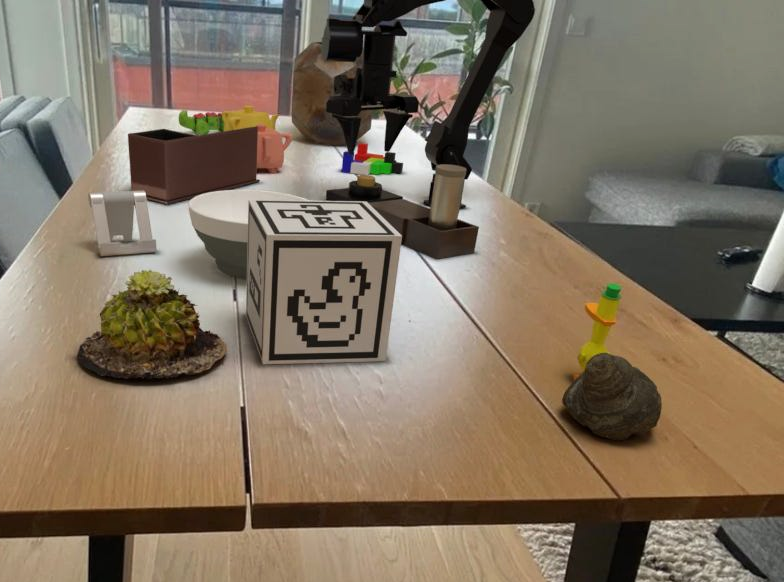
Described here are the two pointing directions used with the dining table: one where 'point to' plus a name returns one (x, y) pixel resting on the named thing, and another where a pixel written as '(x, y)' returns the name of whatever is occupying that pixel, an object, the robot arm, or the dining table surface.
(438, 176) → the tin
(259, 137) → the teapot
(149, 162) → the desk organizer
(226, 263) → the bowl
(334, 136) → the planter
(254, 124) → the teapot
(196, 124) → the toy crocodile
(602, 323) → the toy figure
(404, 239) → the stepped brown tray
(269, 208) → the block
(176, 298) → the cactus
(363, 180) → the button
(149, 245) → the tablet stand
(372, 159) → the building blocks
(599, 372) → the seashell
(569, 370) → the dining table surface
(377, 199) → the yellow push button box
